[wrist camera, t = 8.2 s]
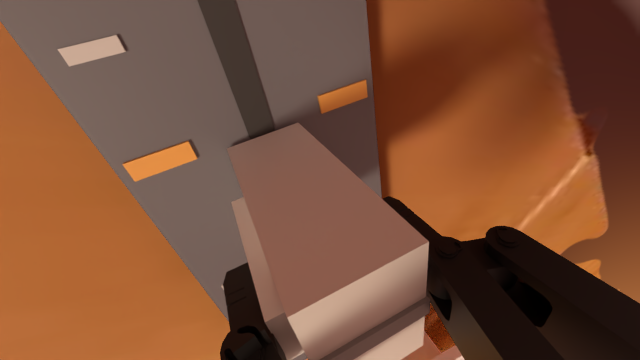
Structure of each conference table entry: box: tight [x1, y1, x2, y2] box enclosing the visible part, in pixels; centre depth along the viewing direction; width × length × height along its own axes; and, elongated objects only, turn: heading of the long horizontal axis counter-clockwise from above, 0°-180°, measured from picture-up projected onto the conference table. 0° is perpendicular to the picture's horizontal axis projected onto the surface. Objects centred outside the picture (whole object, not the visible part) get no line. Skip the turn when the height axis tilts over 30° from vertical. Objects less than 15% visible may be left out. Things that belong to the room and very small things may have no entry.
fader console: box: [0, 0, 382, 360], centre depth 20 cm, size 14×34×2 cm, turn 12°
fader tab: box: [227, 123, 430, 360], centre depth 12 cm, size 4×6×10 cm
